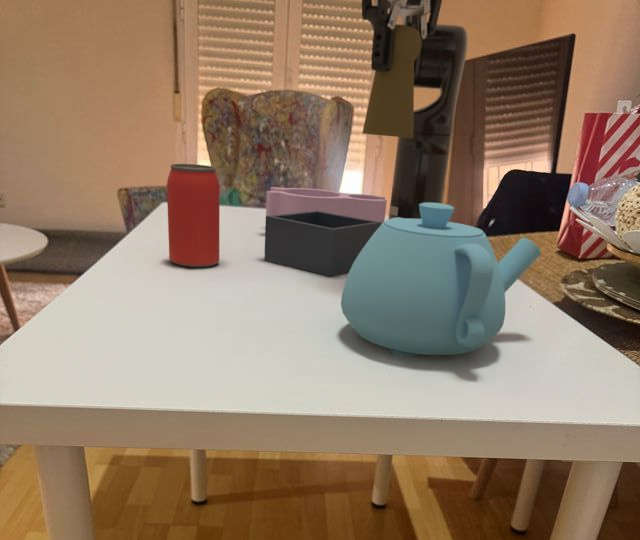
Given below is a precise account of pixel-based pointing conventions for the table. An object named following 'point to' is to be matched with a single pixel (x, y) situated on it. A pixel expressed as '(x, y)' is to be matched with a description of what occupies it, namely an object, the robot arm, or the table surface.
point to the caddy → (316, 240)
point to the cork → (395, 89)
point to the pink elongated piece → (325, 203)
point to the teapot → (431, 285)
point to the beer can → (193, 215)
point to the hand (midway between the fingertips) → (394, 72)
